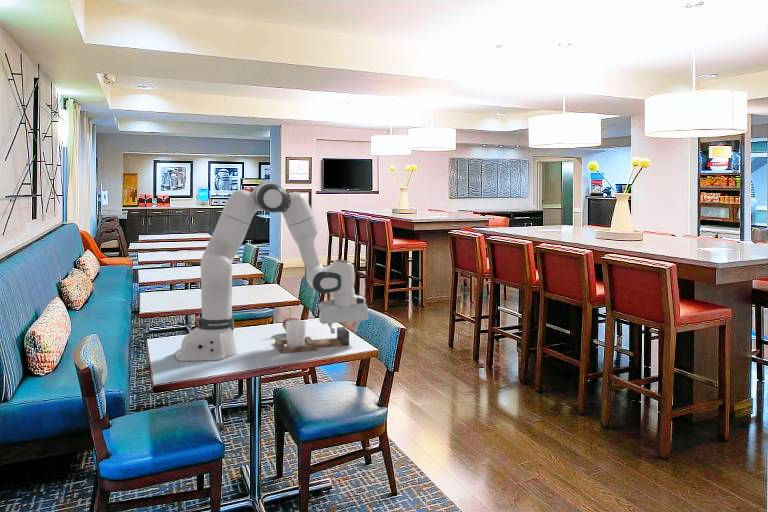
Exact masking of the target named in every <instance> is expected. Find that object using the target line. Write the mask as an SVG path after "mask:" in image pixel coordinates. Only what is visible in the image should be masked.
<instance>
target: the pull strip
mask: <svg viewBox="0 0 768 512" xmlns="http://www.w3.org/2000/svg"><path fill="white" fill-rule="evenodd" d="M304 341H305V342H304V343H305V344H306V345H304V346H295V347H287V346H285V344H287V337H286V338H275V345H276V347H277V349H278V350H279V352H280V354H286V353H288V354H289V353H298V352H310V351H311V352H312V351H313V352H314V351H318V348H319V349H320V348H333V347H341V346H342V347H343V346H350V331H349V330H348V329H347V328H345V326H342V327H340V326H337V328H336V337H331V338H320V339H312V338H311V337H310V336H305V340H304Z"/></svg>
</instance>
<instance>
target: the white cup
mask: <svg viewBox="0 0 768 512" xmlns="http://www.w3.org/2000/svg"><path fill="white" fill-rule="evenodd" d="M306 324H307V323H306V321H305V320H302V319H299V320H290V321H287V322H286V331H285V334H286V338H287V345H286V347H295V346H305V343H306V342H305V341H304V340H305V337H306V326H307V325H306Z"/></svg>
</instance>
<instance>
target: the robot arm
mask: <svg viewBox="0 0 768 512" xmlns="http://www.w3.org/2000/svg"><path fill="white" fill-rule="evenodd" d="M309 203H310V202H309V201H308V200H307V198H306V196H305V195H304V194H303V193H302V192H299V191H294V192H287V191H286V190H285V189H284V188H283V187H281V186H280V185H279V184H277V183H275V182H272V181H265V182H261V183H259V184H257V185H256V186H255V187H254V188H252V189H251V190H246V189H245V190H244V189H237V190H235V191H233V192H232V194H231V195H230V197H229V198H228V199H227V201H226V203H225V205H224V207H223V209H222V211H221V213H220V215H219V218H218V221H217V224H216V226H215V228H214V231H213V232H212V235H211V237H210V239H209V241H208V243H207V245H206V248H205V250H204V252H203V255H202V257H201V258H200V286H201V287H200V288H201V289H200V292H201V294H200V296H201V297H200V299H201V316H195V317H194V322H195V325H196V327H195V328H194V329H192V330H191V331H190V332H189V333H187V334H186V335H184V336H183V339H182V341H181V345H180V348H178V349H177V350H176V351H175V352H174V357H175V359H176V360H177V361H180V362H188V361H189V362H193V361H222V360H224V359H225V358H228V357H231V356H233V355H235V354H237V353H238V349H237V346H236V342H235V336H234V327H235V322H234V316H233V299H232V298H233V296H232V295H233V266H232V265H233V262H234V260H235V257H236V255H237V253H238V251H239V249H240V248H241V246H242V244H243V242H244V240H245V237H246V235H247V232H248V230H249V228H250V226H251V222H252V220H253V217H254V216H255V214H256V213H257V212H258V211H261V210H262V211H264V212H268V213H270V214H271V213H281V214H282V216H283V217H284V219H285V224H286V226H287V229H288V231H289V233H290V235H291V237H292V239H293V240H294V242H295V244H296V245H297V247H298V250H299V252H300V255H301V259H302V262H303V265H304V281H305V284H306V285H307V286H308V287H309V288H311V289H312V290H314V291H315V292H316V293H318V294H321V295H322V294H323V295H324V294H325V295H326V294H330V293H332V299H331V300H330V299H329V300H322V301H321V302H320V303H319V304H318V311H319V315H318V316H319V318H318V321H319V322H320V323H321V325H327V326H328V327H329V329H330V334H336V329H335V328H333V324H339V323H350V322H351V323H352V322H355V325H354V326H352V331H353V332H357V333H358V328H359V326H360V324H361V322H362V321H368V320H369V308H368V305H367V304H366V303H367V298H366V297H364V296H361V295H360V294H356V291H355V290H356V289H355V283H356V282H355V275H356V274H355V267H354V264H353V263H352V262H351V261H348V260H344V259H334V261H333V262H332V263H331V264H329V265H326V266H325V267H324V265H323V264H322V263H321V261H320V259H319V256H318V252H317V249H316V246H315V239H316V237H317V234H318V232H319V231H318V224H317V220H316V217H315V214H314V213H313V210H312V207H311V205H310V204H309Z"/></svg>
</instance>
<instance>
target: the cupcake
mask: <svg viewBox="0 0 768 512" xmlns="http://www.w3.org/2000/svg"><path fill="white" fill-rule="evenodd" d="M288 311H289V312H288V313H289V317H287V318H285V319H284V320H283V322H282V324H281V325H282V327H283V329H284V330H285V332H286V322H287V321H290V320H300V319H299V318H298V317H292V310H291V305H290V306H288Z"/></svg>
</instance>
